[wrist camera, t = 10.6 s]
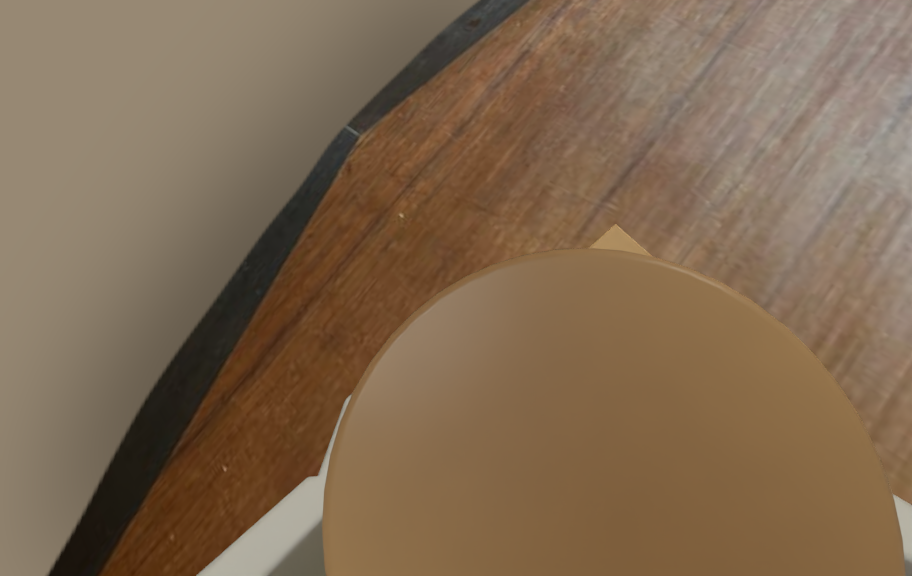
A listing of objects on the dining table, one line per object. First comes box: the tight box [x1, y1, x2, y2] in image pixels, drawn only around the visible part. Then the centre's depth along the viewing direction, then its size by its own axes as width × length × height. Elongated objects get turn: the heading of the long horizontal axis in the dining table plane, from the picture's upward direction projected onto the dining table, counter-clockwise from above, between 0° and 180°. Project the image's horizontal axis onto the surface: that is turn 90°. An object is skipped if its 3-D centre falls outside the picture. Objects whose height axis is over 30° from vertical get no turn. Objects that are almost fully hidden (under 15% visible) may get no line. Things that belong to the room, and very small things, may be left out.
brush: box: [322, 224, 906, 576], centre depth 8 cm, size 10×5×12 cm, turn 132°
